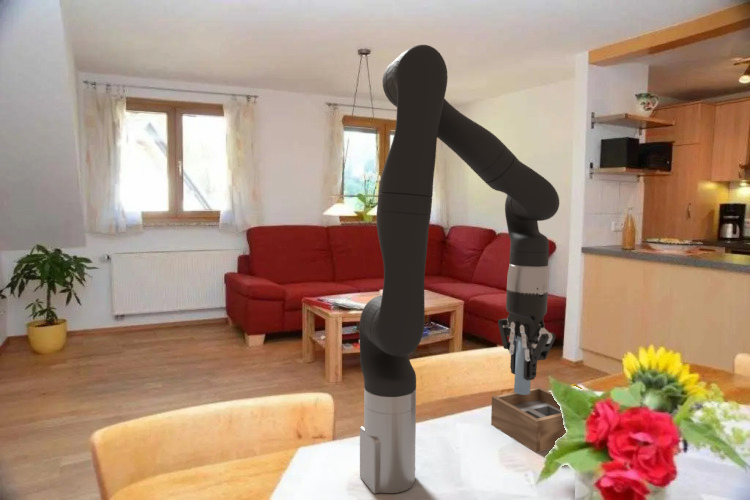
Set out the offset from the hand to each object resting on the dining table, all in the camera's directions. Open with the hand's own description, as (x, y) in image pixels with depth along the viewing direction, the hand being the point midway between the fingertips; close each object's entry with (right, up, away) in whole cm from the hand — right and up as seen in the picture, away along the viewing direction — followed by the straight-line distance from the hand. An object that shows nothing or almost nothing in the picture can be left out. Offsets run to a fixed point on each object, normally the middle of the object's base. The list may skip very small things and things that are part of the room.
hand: (522, 376), depth 97 cm
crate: (+7, -15, +13) cm, 21 cm away
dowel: (0, -3, 0) cm, 3 cm away
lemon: (+18, -15, +20) cm, 31 cm away
